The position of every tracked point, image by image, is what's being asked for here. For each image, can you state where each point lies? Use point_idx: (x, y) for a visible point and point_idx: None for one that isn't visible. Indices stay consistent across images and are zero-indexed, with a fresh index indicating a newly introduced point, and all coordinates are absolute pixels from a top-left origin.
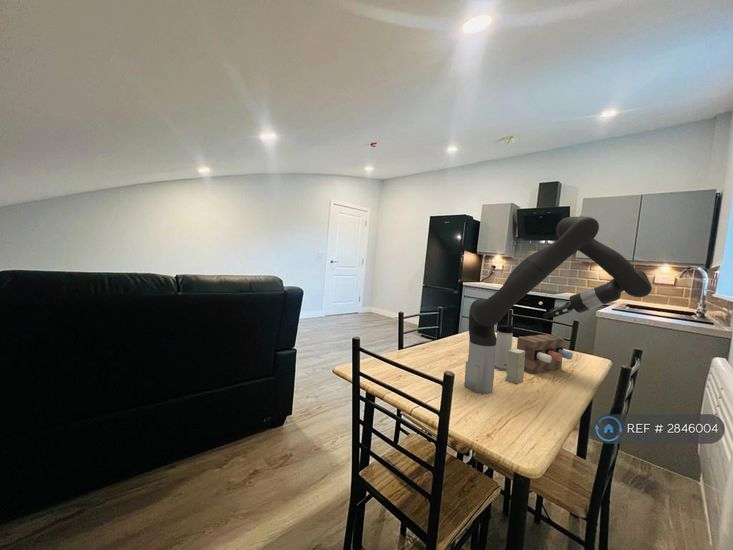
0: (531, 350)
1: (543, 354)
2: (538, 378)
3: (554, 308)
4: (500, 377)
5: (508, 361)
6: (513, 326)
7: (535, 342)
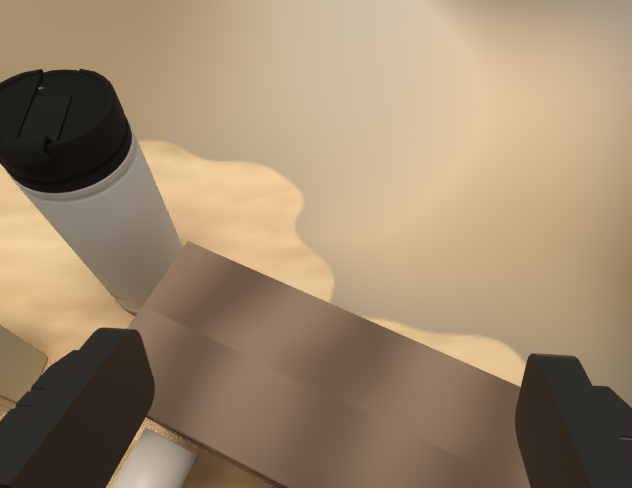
0: None
1: (124, 478)
2: None
3: (582, 485)
4: (3, 311)
5: None
6: (9, 157)
7: None
